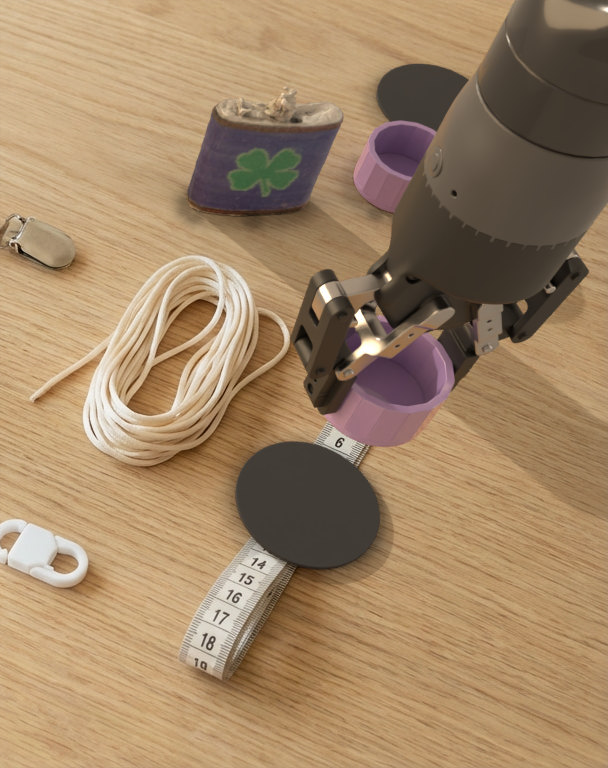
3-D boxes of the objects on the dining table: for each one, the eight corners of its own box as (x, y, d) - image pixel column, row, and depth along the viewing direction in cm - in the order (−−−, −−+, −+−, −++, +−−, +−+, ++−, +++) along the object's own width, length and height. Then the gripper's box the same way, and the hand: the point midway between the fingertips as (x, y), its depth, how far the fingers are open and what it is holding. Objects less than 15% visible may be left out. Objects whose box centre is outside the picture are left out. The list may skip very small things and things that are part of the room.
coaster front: (341, 432, 80) (343, 430, 80) (402, 554, 75) (404, 551, 75) (214, 457, 78) (215, 454, 78) (267, 582, 74) (269, 580, 73)
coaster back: (456, 60, 101) (458, 57, 101) (509, 135, 96) (511, 133, 96) (357, 73, 100) (359, 70, 100) (406, 151, 95) (408, 148, 95)
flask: (303, 188, 92) (350, 80, 83) (311, 217, 91) (359, 110, 82) (182, 186, 92) (216, 77, 83) (187, 216, 90) (223, 108, 81)
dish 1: (413, 148, 95) (430, 115, 92) (450, 207, 92) (470, 175, 89) (339, 160, 94) (354, 126, 91) (374, 220, 91) (391, 187, 88)
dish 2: (397, 345, 70) (421, 307, 67) (448, 436, 66) (475, 401, 64) (296, 362, 69) (315, 325, 66) (343, 456, 65) (365, 421, 63)
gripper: (402, 265, 50) (284, 471, 64) (707, 215, 52) (528, 424, 66) (327, 137, 54) (231, 357, 68) (612, 96, 56) (463, 316, 70)
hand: (378, 389), depth 67 cm, fingers closed on dish 2, 6 cm apart
